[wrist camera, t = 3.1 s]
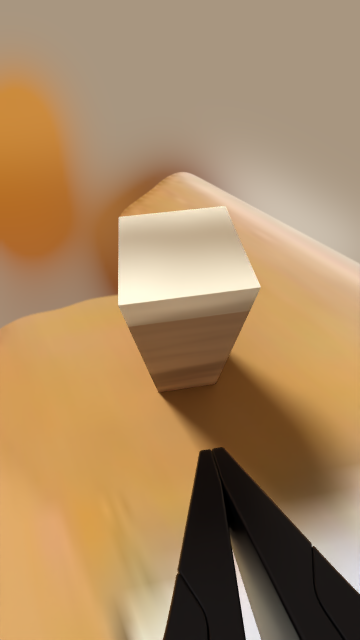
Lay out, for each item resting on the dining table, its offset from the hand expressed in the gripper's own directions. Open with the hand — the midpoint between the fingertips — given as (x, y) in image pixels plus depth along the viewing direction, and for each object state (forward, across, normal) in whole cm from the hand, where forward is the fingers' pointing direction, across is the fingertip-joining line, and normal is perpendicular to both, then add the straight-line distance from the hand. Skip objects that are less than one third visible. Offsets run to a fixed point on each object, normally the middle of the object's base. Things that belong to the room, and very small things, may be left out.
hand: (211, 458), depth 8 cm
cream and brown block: (+12, 0, +2) cm, 12 cm away
